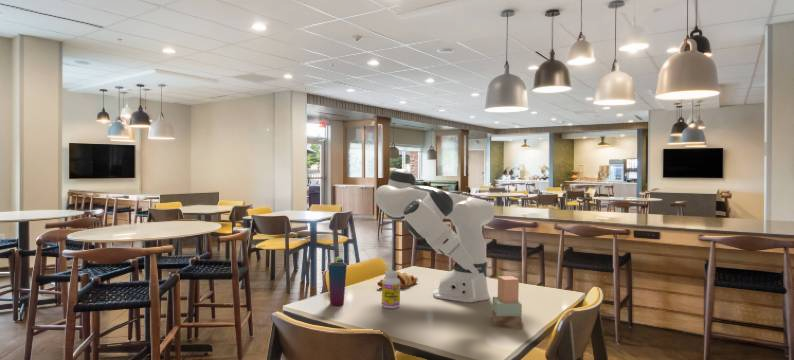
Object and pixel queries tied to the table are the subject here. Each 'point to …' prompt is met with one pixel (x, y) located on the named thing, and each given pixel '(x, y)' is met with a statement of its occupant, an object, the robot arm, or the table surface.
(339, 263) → the cup
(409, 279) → the croissant
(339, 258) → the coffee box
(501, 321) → the tower base
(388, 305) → the supplement bottle
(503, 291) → the terracotta block
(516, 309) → the tower top
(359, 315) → the table surface
